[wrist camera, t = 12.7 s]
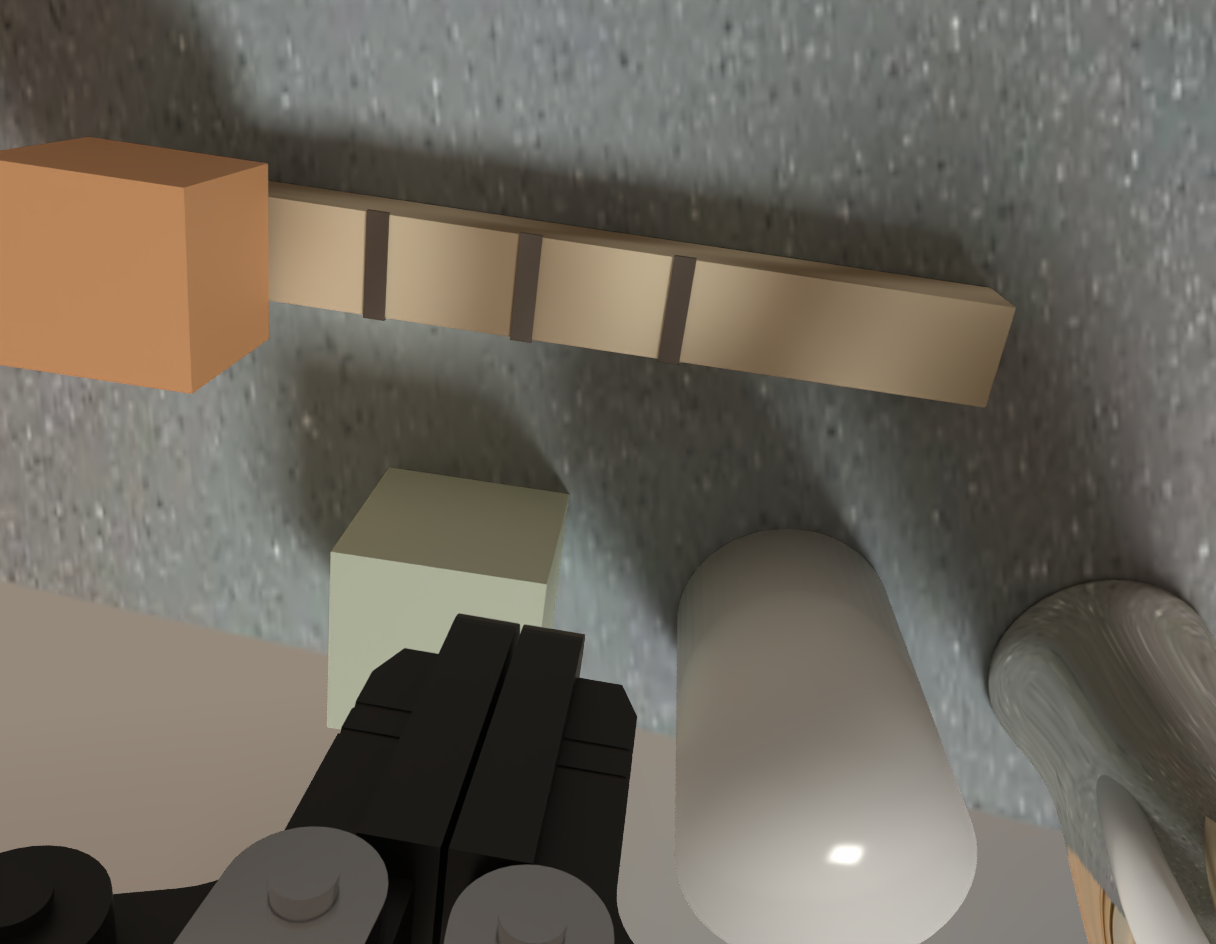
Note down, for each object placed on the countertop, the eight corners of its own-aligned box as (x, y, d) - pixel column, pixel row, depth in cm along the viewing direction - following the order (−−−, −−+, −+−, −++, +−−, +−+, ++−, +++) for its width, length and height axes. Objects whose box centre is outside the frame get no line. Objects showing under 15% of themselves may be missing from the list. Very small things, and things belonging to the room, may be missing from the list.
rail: (991, 285, 24) (1017, 306, 22) (962, 383, 25) (985, 410, 23) (99, 153, 24) (49, 163, 22) (107, 255, 25) (60, 272, 23)
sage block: (569, 493, 27) (547, 584, 23) (549, 645, 29) (525, 757, 25) (390, 466, 27) (330, 551, 23) (382, 619, 29) (326, 727, 25)
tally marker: (267, 163, 22) (183, 187, 18) (268, 338, 23) (191, 393, 20) (88, 136, 22) (-33, 155, 18) (101, 313, 23) (-7, 363, 20)
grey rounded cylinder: (914, 546, 27) (1015, 768, 19) (862, 723, 29) (931, 988, 21) (696, 513, 27) (701, 720, 19) (662, 692, 29) (654, 945, 21)
